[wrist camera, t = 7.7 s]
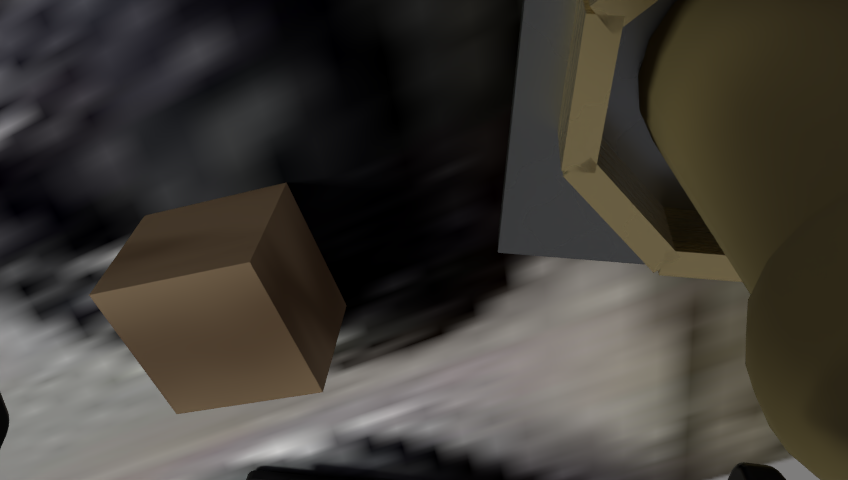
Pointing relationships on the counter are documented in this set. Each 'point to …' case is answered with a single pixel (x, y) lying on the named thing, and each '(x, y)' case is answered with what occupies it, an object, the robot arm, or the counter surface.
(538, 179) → the cup bracket
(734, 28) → the olive brown tapered cylinder
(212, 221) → the walnut block
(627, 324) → the counter surface
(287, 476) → the robot arm
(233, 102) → the counter surface
